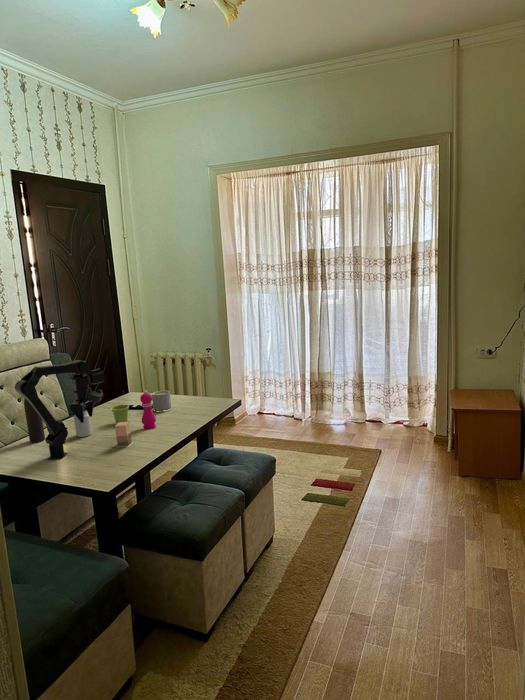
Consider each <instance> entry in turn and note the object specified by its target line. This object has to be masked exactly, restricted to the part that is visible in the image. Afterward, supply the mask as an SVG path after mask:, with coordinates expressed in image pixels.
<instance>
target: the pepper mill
mask: <svg viewBox="0 0 525 700" xmlns="http://www.w3.org/2000/svg"><path fill="white" fill-rule="evenodd" d="M139 398H140V399H139V401H140V402H141V406H142V408H143V413H142V416H141V423H142V424H143V430H146V431H147V430H155V429H156V428H157V424H156V421H157V417H156V414H155V413H154V411H153V409H152V408H153V407H152V406H151V405H152V403H153V401H152V394H151V393H148V390H144V391H143V393H142V394H141V395H140V397H139ZM154 428H155V429H154Z"/></svg>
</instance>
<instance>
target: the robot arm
mask: <svg viewBox="0 0 525 700" xmlns="http://www.w3.org/2000/svg"><path fill="white" fill-rule="evenodd" d="M67 373H69V374H71V375H70V377H69V378H68V379H69V380H71V381H74V385H75V390H74V391H73V392H74V394H76V399H75V401H74V402H72V403H70V405H69V406H68V409H69V410H68V411H70V412H71V413H73V414H74V416H75V415H76V416H77V418H78V419H79V420H80V422H81V423H84V411H87V412H88V414H89V416H90V418H91V417H93V413H94V406H95V404H96V403H98V404H99V403H100V402H101V401H102V399H103V397H104V393H103V390H102V389H100V388H99V389H97V390H94V391H93V390H92V388H91V387H89V386H90V385H91V386H92V385H97V384H101V383H104V382H105V380H106V379H105V375H104V372H103V371H102V368H96V369H91V368H90V367H89V366H88V363H87V361H85V360H79V359H75V360H71V361H68V362H66V363H61V364H52V365H45V366H34V367H33V368H32V369H31V370H30V371H29V372H27V373H26V374H25V375H24V376H23V377H22V378H21V379H19V380H18V381H16V382H15V384H14V390H15V392H17V393H18V394H19V395H20V396H21V397H23V398H25V399H26V400H28V401H29V403H30V404H31V405H32V407H33V408H34V409H35V411H36V412H37V413H38V415H39V416H40V417H41V419H42V421H43V424H45V426H46V430H47V432H48V435H47V436H45V440H44V441H45V444H48V450H49V455H50V456H49V457H47V460H61V459H63V458H65V456H67V455H68V452H65V449H64V448H65V447H64V445H65V444H66V439H67V438H68V435H69V431H68V427H66V425H65V423H64V422H63V421H62V420H58V419H55V417H54V416H53V415H52V413H51V412H50V411H49V409H48V408H47V407H46V406H45V404H44V403H43V401H42V400H41V399H40V397H39V395H38V391H37V389H36V387H37V385H38V384H39V382H40V381H41V378H42V377H43V376H44V377H45V376H51V375H58V374H67ZM89 384H90V385H89Z"/></svg>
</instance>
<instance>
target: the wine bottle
mask: <svg viewBox="0 0 525 700" xmlns="http://www.w3.org/2000/svg"><path fill="white" fill-rule="evenodd" d="M23 398H24V397H23ZM23 407H24V408H23V409H24V413H25V414H24V415H25V419H26V427H27V433H28V439H29V442H30V443H32V444H34V443H41V442H43V441H45V439H46V436H45V434H46V433H45V429H44V421H43V420H42V419H41V417H40V416H39V415H38V413H37V412H36V411H35V409H34V408H33V407H32V405H31V404H30V403H29V401H28V400H26V399H25V398H24V399H23Z"/></svg>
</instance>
